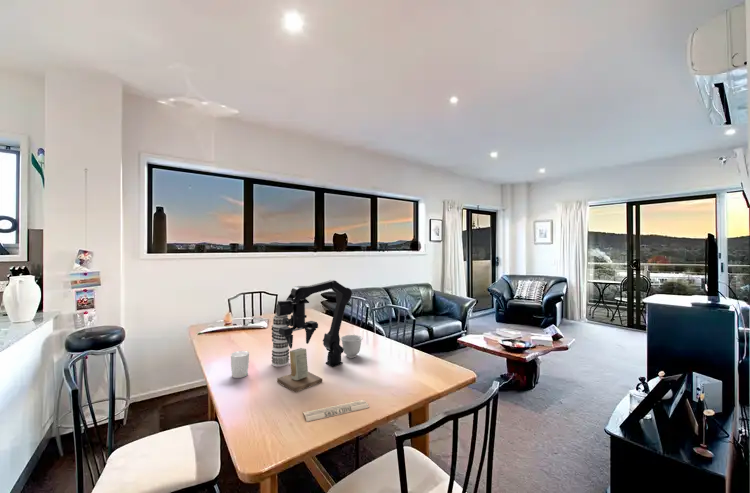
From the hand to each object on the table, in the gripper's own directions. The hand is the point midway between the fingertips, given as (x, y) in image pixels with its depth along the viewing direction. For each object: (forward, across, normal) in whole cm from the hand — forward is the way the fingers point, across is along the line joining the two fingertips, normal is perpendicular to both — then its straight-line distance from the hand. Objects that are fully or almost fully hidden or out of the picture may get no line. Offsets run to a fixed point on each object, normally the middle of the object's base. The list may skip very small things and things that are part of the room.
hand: (299, 345), depth 153 cm
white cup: (+12, +21, -17) cm, 30 cm away
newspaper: (+14, +11, +40) cm, 44 cm away
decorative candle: (+13, 0, -17) cm, 21 cm away
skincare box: (+11, +6, +10) cm, 16 cm away
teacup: (+14, -34, 0) cm, 36 cm away
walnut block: (+13, +6, +9) cm, 17 cm away
